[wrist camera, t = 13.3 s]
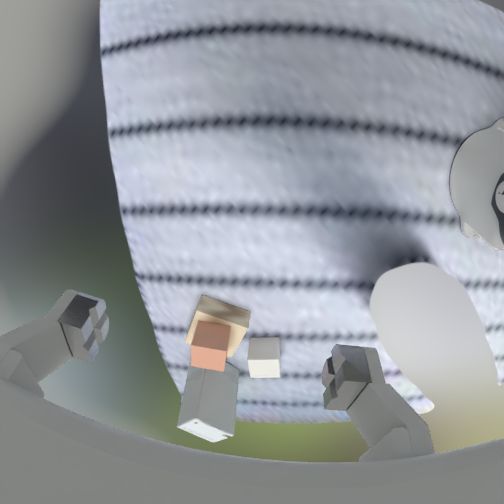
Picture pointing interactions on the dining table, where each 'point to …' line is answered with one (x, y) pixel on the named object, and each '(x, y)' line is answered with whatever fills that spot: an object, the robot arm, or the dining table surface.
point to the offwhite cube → (264, 357)
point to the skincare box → (210, 402)
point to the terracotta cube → (210, 346)
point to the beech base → (221, 320)
